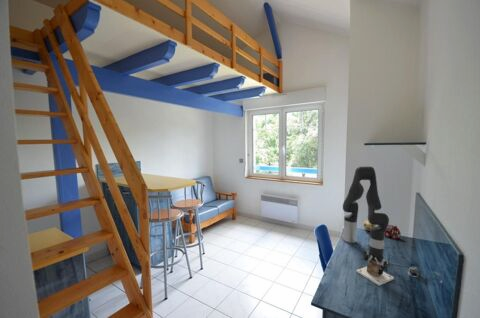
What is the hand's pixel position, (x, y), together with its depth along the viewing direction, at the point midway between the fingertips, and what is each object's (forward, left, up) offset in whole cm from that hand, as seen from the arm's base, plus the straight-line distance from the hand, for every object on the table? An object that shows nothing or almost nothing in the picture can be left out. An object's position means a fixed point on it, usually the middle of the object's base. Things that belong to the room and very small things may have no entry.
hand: (374, 271), depth 129 cm
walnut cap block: (0, 0, -1) cm, 1 cm away
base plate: (0, 0, -3) cm, 3 cm away
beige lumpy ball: (-44, +61, -3) cm, 75 cm away
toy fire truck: (-28, +67, -3) cm, 73 cm away
